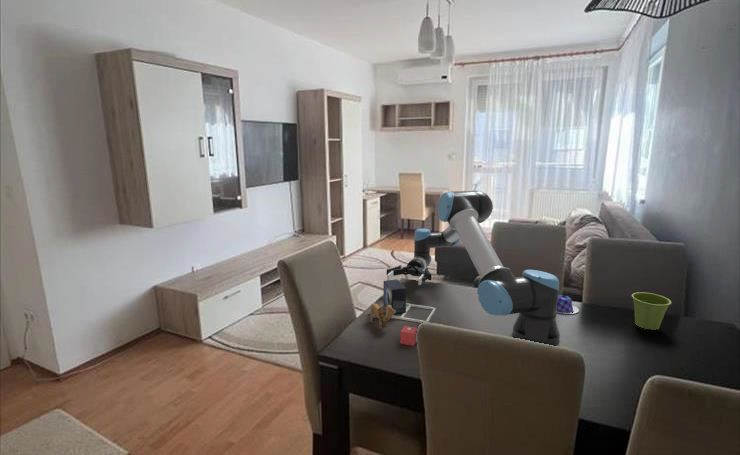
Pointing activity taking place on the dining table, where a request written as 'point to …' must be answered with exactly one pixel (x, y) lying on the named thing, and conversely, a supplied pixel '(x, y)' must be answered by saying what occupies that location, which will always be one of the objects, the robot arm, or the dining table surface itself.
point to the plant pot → (649, 309)
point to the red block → (408, 335)
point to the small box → (395, 295)
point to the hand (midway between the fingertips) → (403, 280)
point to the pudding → (565, 305)
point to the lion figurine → (381, 313)
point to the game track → (401, 316)
